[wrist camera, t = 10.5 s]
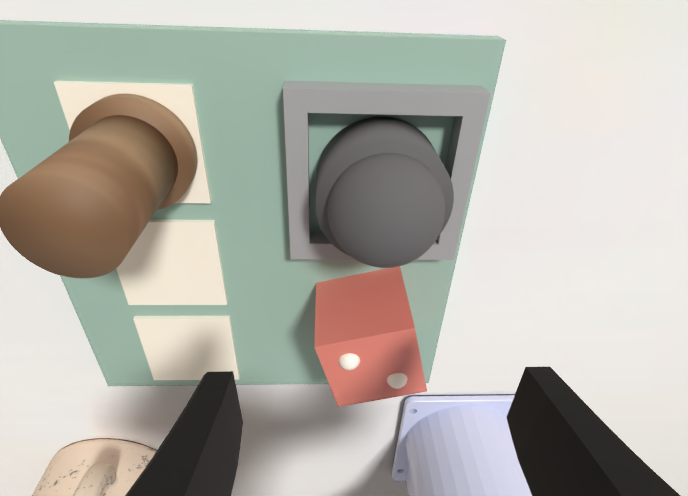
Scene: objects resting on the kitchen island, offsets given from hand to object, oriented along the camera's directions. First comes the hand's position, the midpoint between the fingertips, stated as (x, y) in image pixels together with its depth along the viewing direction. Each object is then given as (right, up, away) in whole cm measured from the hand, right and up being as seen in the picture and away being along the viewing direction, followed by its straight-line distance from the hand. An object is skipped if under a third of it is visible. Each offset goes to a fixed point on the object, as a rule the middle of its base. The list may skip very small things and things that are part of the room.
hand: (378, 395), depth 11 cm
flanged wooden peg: (-8, +7, +5) cm, 12 cm away
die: (0, +1, +10) cm, 10 cm away
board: (-5, +4, +9) cm, 11 cm away
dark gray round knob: (+1, +6, +6) cm, 9 cm away
